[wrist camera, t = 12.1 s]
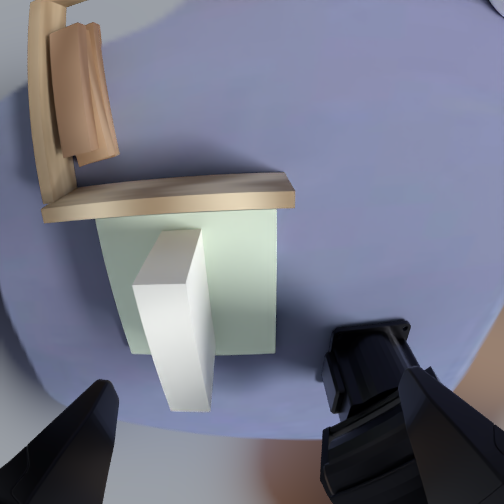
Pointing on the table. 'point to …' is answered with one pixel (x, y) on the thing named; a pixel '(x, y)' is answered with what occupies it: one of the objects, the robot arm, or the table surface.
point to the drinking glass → (498, 6)
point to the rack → (132, 192)
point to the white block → (178, 318)
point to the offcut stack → (81, 94)
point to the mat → (217, 268)
